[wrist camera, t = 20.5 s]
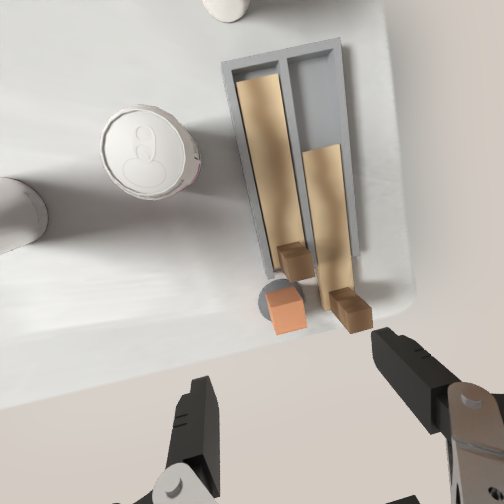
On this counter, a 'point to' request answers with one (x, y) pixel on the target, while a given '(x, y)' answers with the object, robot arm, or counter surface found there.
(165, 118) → the supplement can
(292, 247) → the oak strip
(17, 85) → the counter surface
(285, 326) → the rust cube
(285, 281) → the slate coaster
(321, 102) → the lane frame
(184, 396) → the robot arm
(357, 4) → the counter surface
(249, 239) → the counter surface
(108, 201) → the counter surface
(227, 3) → the beer glass
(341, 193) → the oak strip
